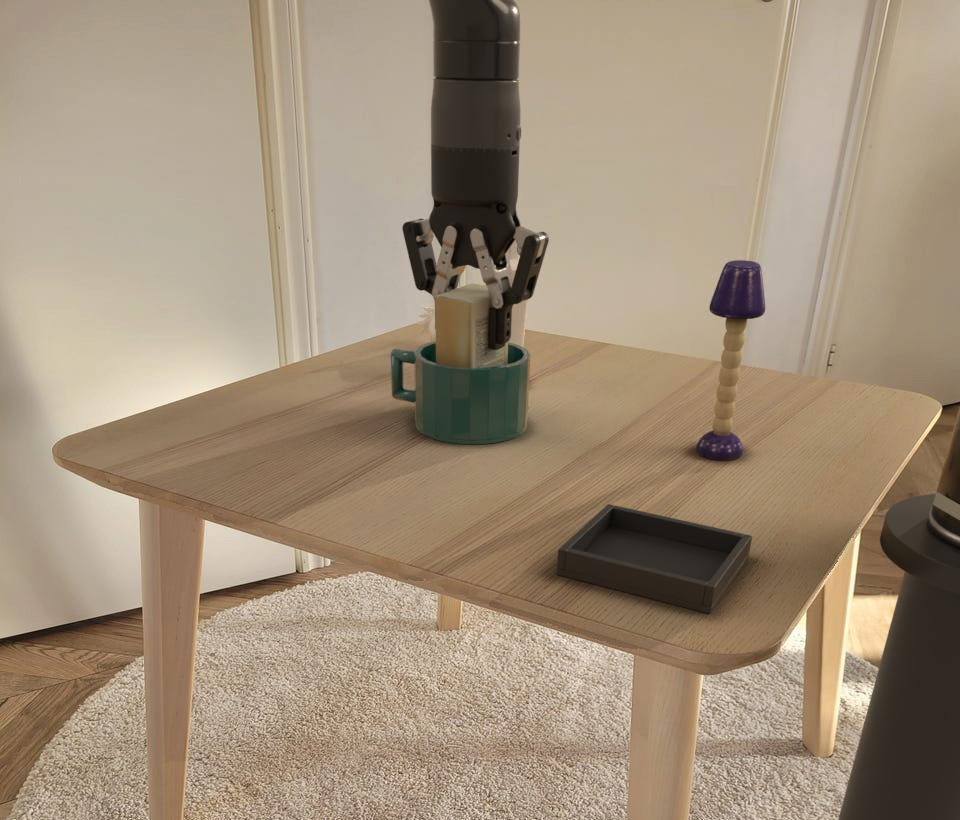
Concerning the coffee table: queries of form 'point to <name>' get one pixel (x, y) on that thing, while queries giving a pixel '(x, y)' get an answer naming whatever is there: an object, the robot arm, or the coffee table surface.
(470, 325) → the cosmetic box
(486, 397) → the teal coffee mug
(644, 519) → the tray
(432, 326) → the cream spiky figurine
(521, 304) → the white bottle vase
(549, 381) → the coffee table surface
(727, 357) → the toy lamp
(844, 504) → the coffee table surface
